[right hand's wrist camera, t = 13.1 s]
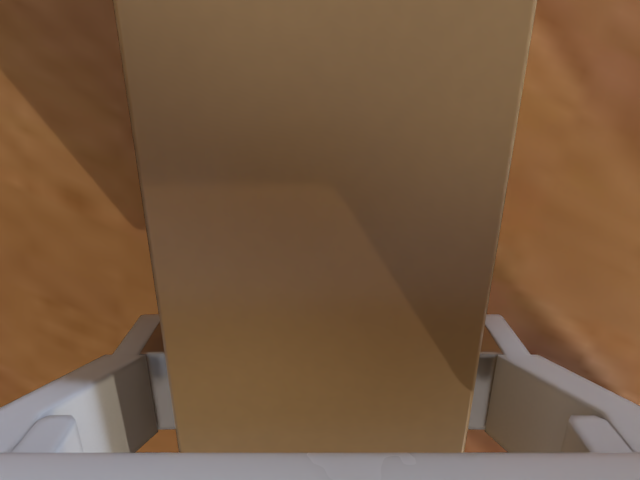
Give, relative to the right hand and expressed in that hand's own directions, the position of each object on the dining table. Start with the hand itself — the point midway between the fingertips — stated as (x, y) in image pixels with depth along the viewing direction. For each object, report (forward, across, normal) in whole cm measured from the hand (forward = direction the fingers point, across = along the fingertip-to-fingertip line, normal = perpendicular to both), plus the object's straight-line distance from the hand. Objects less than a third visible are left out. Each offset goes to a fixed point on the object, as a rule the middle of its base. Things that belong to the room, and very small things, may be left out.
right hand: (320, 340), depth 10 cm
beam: (+3, 0, -29) cm, 29 cm away
